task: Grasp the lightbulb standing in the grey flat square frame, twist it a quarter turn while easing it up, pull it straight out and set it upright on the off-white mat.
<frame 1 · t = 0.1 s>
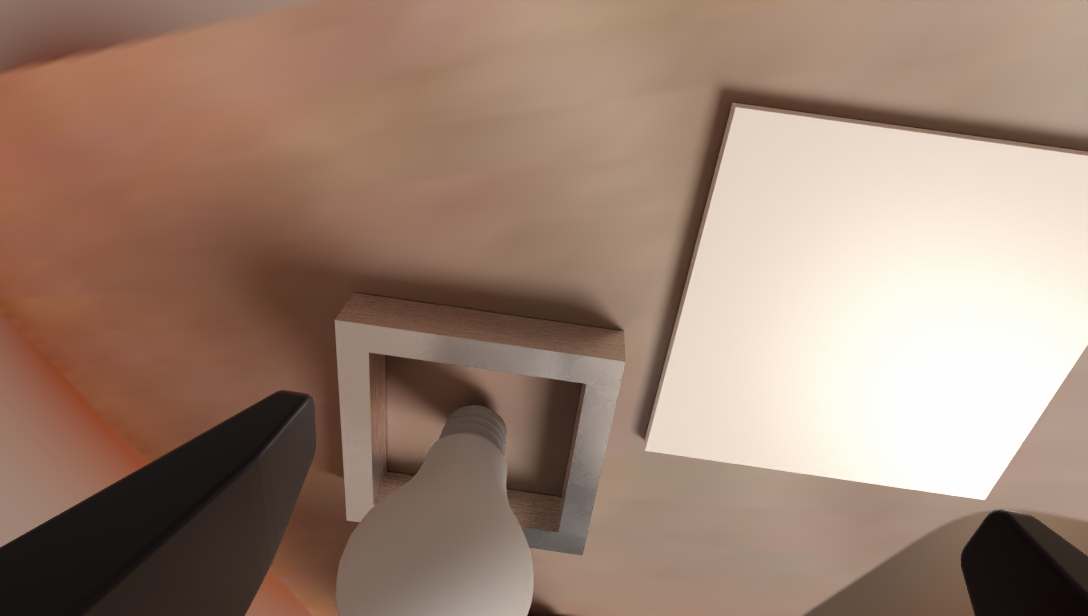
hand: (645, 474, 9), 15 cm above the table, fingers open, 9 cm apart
grey flat square frame: (479, 416, 27), on the table
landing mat: (873, 324, 23), on the table
lightbulb: (480, 413, 27), resting in grey flat square frame
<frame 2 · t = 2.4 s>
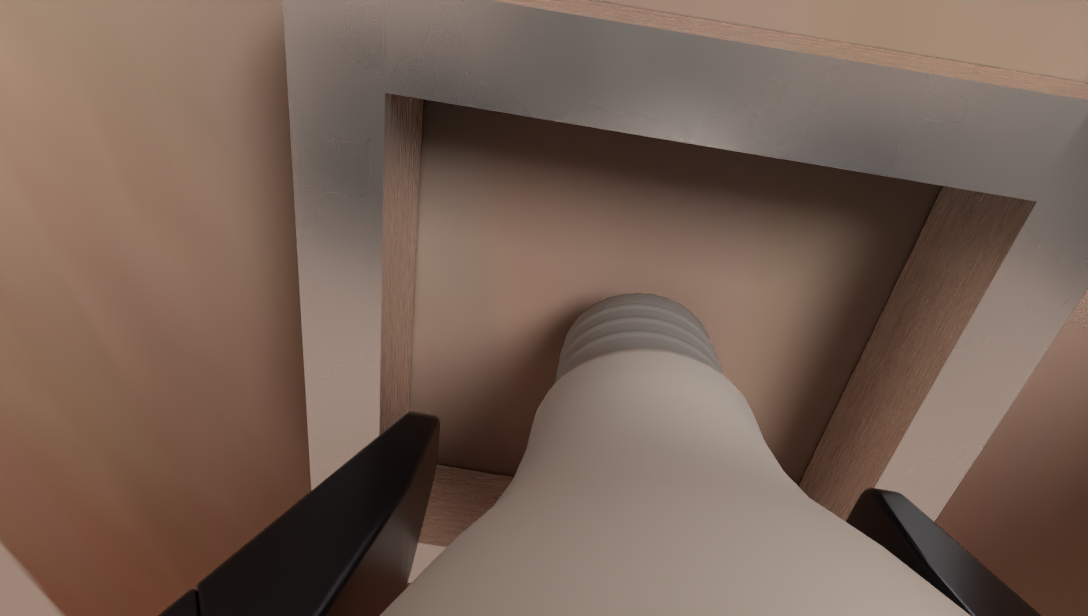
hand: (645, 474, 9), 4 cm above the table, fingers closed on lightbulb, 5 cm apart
grey flat square frame: (634, 333, 12), on the table
lightbulb: (633, 326, 12), resting in grey flat square frame, touching gripper
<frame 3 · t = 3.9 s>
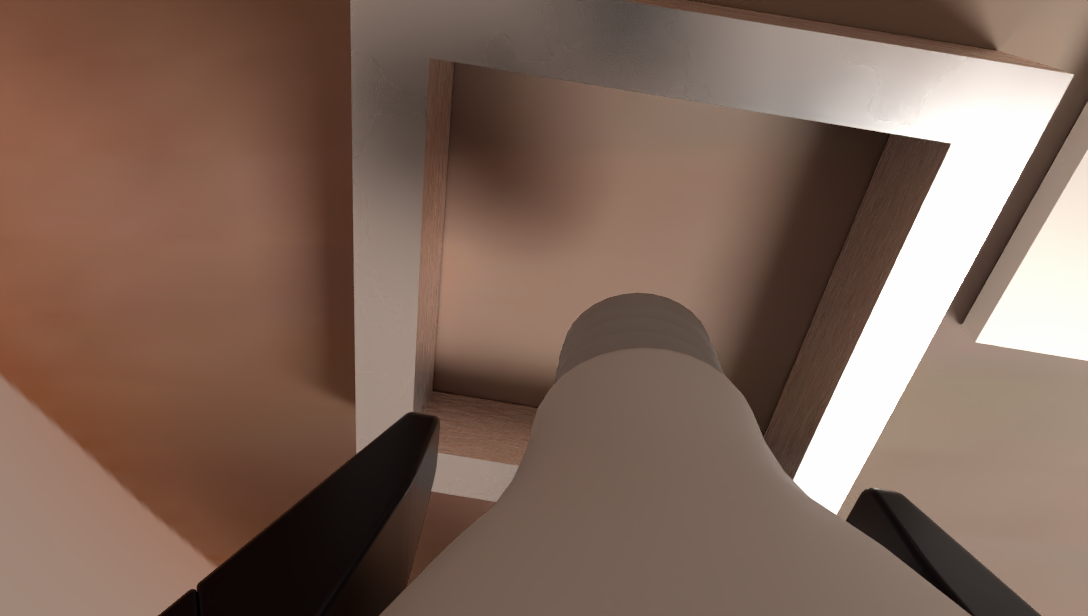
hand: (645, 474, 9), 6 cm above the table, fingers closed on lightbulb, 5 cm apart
grey flat square frame: (631, 272, 14), on the table
lightbulb: (633, 326, 12), point 2 cm above the table, touching gripper
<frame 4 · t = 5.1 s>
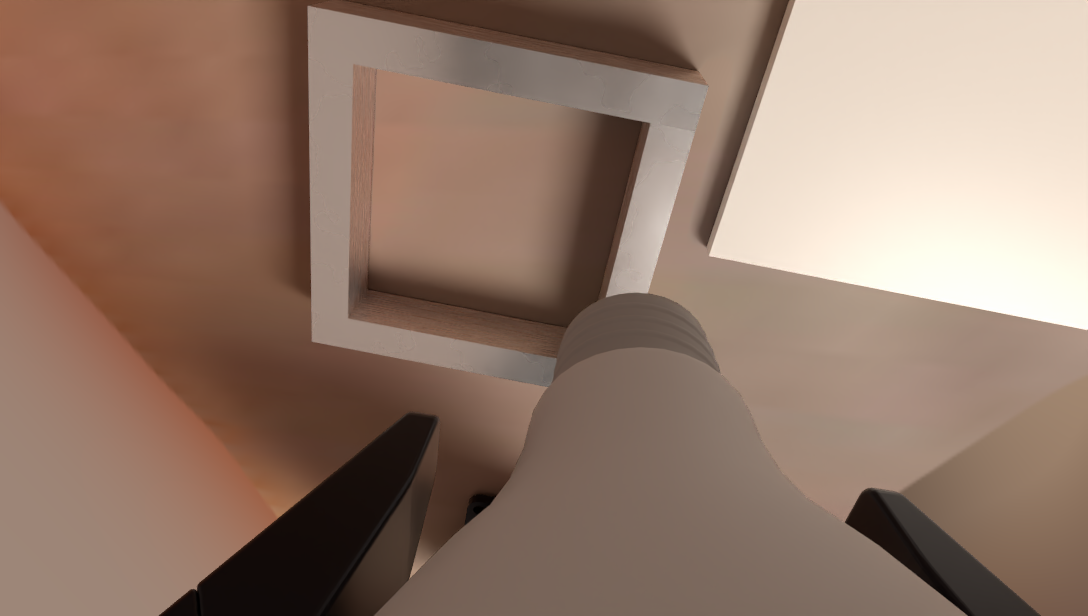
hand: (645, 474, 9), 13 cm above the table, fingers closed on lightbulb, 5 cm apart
grey flat square frame: (493, 206, 21), on the table
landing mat: (1036, 66, 17), on the table
lightbulb: (631, 326, 12), point 9 cm above the table, touching gripper
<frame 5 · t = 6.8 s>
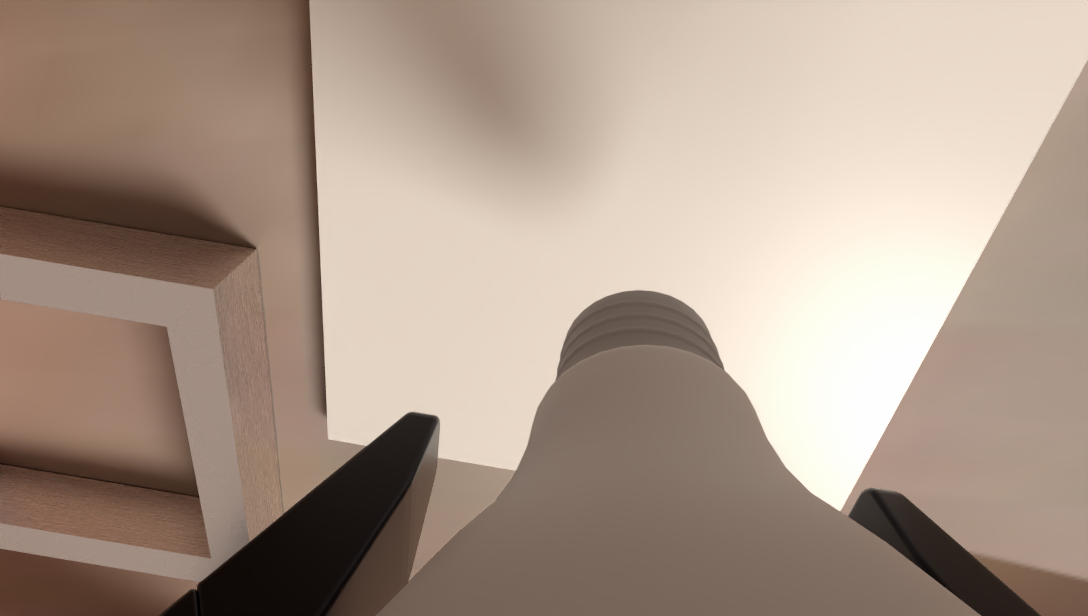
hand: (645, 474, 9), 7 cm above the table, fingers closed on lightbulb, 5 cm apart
grey flat square frame: (91, 383, 18), on the table
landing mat: (633, 241, 15), on the table
lightbulb: (634, 324, 12), point 3 cm above the table, touching gripper
when the fingers open (5 cm above the table, at t = 8.0 s): lightbulb drops 1 cm, resting on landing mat.
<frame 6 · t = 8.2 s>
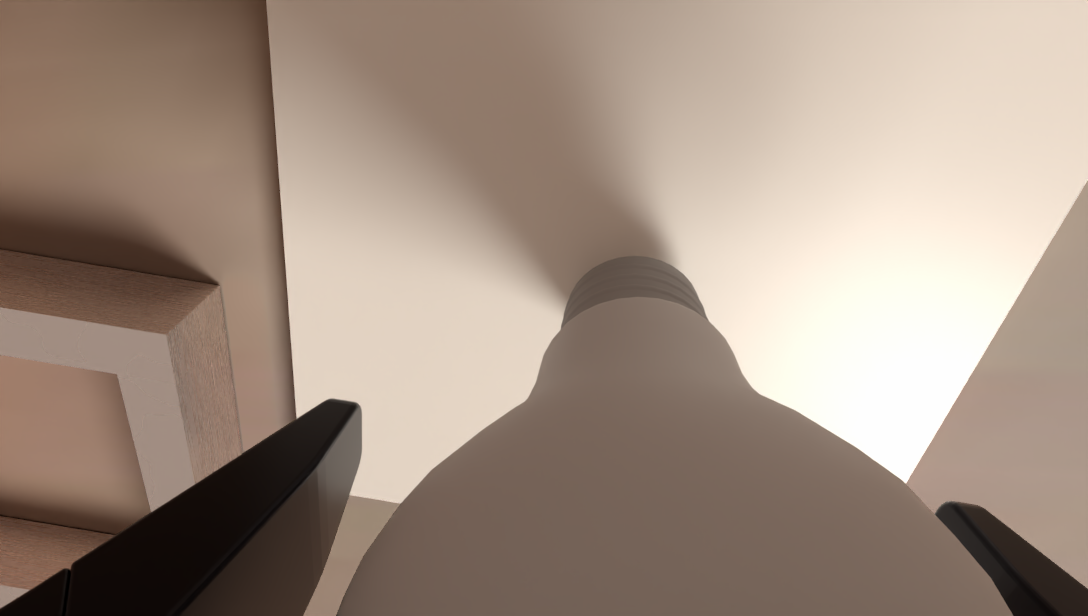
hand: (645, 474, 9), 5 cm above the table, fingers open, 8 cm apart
grey flat square frame: (45, 425, 17), on the table
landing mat: (632, 279, 13), on the table
lightbulb: (631, 290, 13), resting on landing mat
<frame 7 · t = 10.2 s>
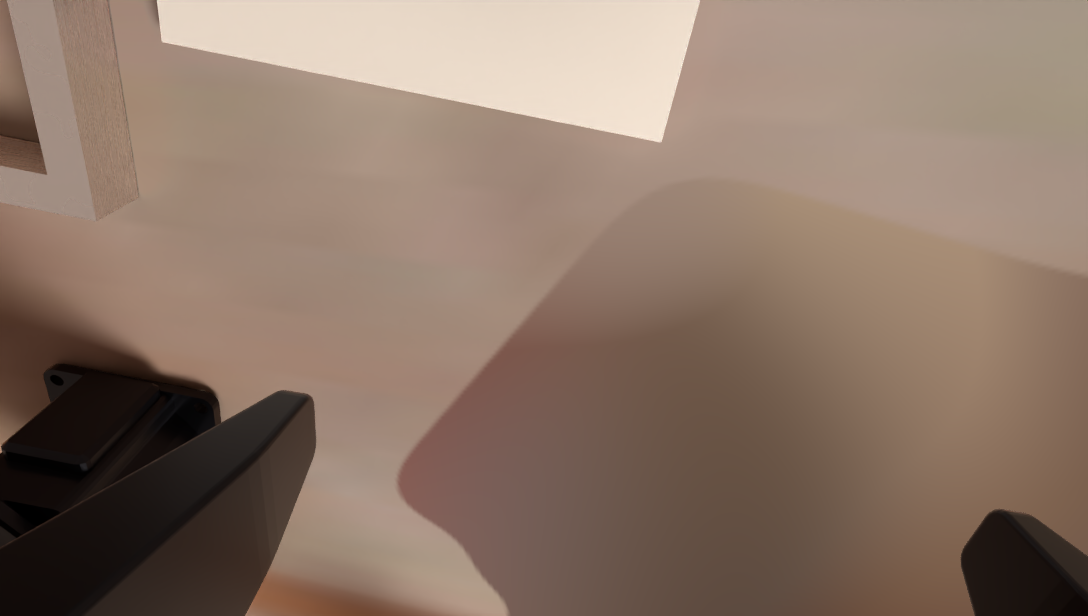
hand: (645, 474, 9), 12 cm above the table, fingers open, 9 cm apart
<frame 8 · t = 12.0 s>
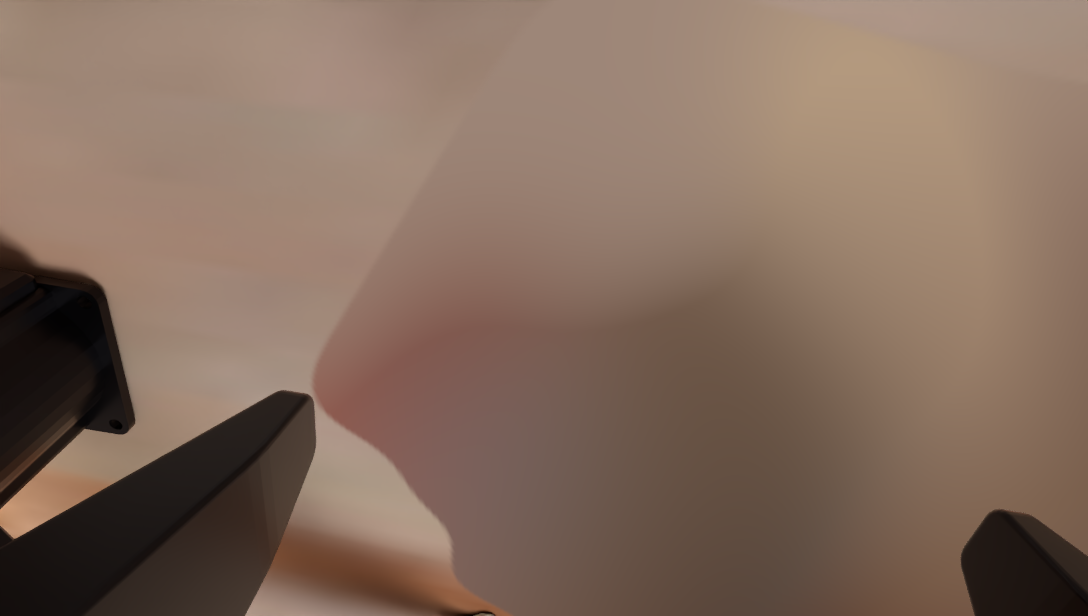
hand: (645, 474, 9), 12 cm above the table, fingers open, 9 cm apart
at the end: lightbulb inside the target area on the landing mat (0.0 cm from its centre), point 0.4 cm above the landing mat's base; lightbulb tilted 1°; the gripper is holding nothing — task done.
